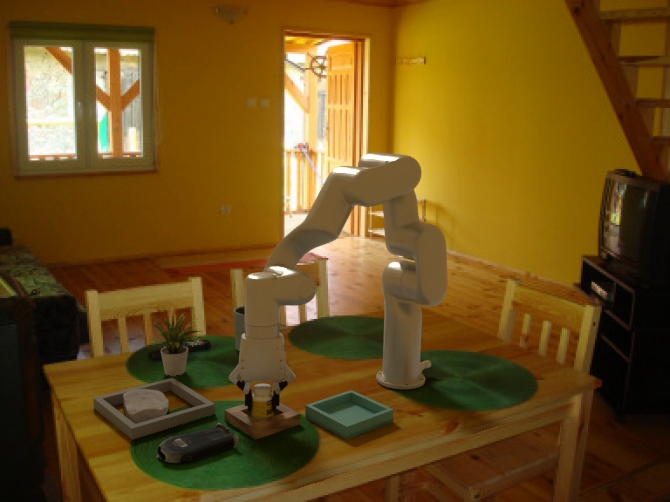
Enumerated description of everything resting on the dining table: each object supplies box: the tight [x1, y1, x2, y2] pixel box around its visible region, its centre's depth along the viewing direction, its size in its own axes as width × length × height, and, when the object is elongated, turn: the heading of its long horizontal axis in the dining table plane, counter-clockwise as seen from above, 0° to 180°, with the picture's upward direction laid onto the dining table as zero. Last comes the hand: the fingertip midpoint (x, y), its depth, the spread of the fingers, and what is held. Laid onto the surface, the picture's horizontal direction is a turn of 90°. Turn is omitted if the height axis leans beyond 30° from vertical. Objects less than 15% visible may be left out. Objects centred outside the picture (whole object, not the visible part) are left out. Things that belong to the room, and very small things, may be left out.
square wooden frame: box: [224, 402, 301, 441], centre depth 155 cm, size 12×12×2 cm
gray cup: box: [233, 305, 245, 351], centre depth 200 cm, size 10×10×12 cm
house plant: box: [145, 311, 204, 377], centre depth 180 cm, size 14×14×16 cm
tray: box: [304, 389, 394, 441], centre depth 157 cm, size 14×14×3 cm
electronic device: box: [156, 422, 240, 464], centre depth 142 cm, size 9×6×15 cm
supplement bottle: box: [252, 383, 273, 421], centre depth 154 cm, size 5×5×8 cm
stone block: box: [122, 389, 170, 424], centre depth 159 cm, size 12×5×10 cm
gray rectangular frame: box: [92, 377, 216, 440], centre depth 159 cm, size 20×20×2 cm
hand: (262, 407), depth 154 cm, fingers open, 4 cm apart
